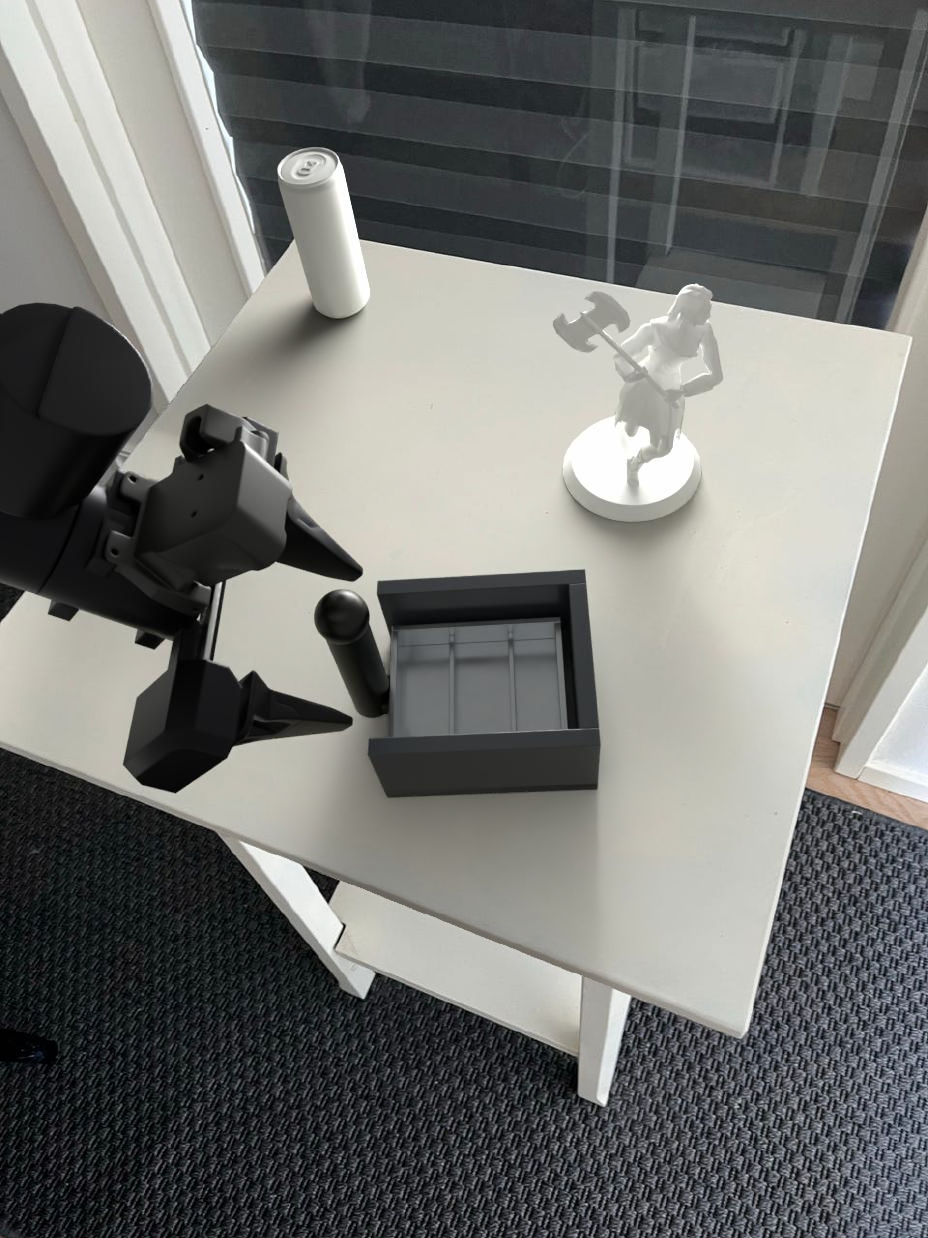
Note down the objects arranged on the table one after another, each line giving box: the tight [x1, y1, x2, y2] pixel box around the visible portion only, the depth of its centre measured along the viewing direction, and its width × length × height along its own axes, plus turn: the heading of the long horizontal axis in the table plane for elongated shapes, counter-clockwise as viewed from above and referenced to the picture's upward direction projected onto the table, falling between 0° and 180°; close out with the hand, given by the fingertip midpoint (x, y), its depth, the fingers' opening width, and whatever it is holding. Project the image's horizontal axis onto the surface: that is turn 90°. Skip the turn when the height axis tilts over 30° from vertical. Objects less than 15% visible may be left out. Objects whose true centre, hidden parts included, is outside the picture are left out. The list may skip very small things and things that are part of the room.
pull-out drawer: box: [313, 588, 568, 738], centre depth 50 cm, size 13×8×11 cm, turn 90°
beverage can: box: [276, 146, 371, 319], centre depth 72 cm, size 5×5×12 cm
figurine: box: [552, 282, 724, 523], centre depth 57 cm, size 10×10×18 cm
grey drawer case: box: [367, 568, 602, 799], centre depth 53 cm, size 12×11×6 cm
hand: (354, 646), depth 49 cm, fingers open, 9 cm apart
